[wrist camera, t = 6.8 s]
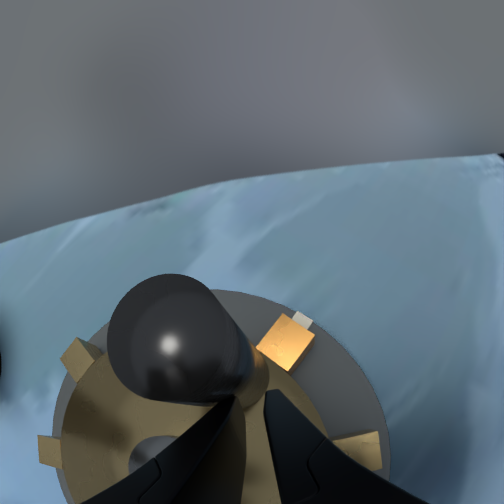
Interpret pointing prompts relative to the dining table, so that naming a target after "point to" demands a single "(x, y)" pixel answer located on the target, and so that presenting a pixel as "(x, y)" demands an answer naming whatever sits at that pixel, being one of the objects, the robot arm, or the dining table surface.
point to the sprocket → (178, 388)
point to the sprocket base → (306, 375)
